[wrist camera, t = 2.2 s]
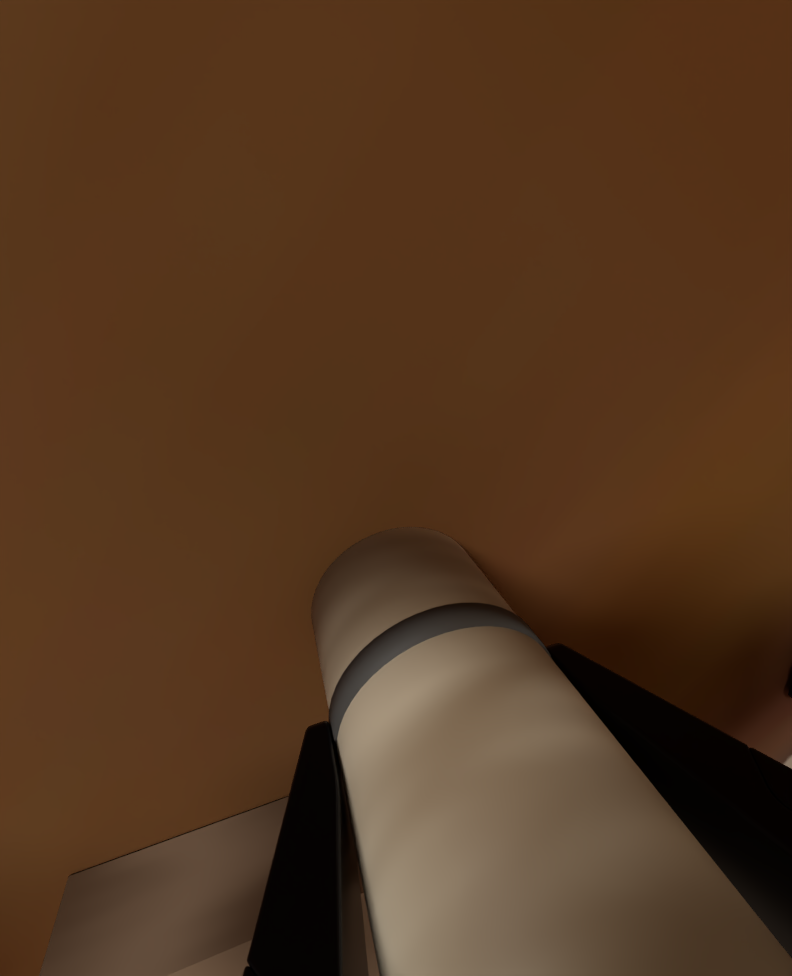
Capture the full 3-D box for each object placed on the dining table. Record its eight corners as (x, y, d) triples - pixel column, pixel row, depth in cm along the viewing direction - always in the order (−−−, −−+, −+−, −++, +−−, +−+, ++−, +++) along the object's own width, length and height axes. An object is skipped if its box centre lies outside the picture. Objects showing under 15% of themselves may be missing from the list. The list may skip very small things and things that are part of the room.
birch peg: (474, 506, 11) (996, 1029, 3) (478, 641, 13) (814, 1165, 5) (292, 552, 10) (438, 1420, 2) (326, 689, 12) (466, 1408, 4)
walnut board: (475, 728, 15) (523, 824, 12) (484, 945, 22) (516, 1035, 19) (68, 876, 12) (21, 1037, 10) (228, 1067, 19) (225, 1189, 17)
